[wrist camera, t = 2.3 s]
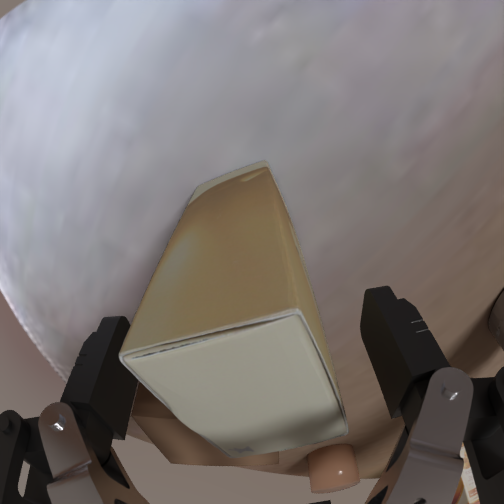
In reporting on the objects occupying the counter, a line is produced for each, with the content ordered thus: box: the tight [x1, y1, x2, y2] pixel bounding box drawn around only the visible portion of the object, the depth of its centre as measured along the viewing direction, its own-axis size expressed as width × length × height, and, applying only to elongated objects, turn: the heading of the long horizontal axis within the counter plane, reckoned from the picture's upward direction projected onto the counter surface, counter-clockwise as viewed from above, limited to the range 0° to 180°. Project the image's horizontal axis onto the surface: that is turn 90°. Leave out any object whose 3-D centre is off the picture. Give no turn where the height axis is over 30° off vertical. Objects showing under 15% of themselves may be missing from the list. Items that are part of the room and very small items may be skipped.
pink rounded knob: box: [307, 444, 360, 493], centre depth 34 cm, size 7×7×6 cm
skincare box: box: [119, 160, 349, 458], centre depth 12 cm, size 6×4×12 cm
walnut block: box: [131, 382, 279, 466], centre depth 26 cm, size 12×12×5 cm
